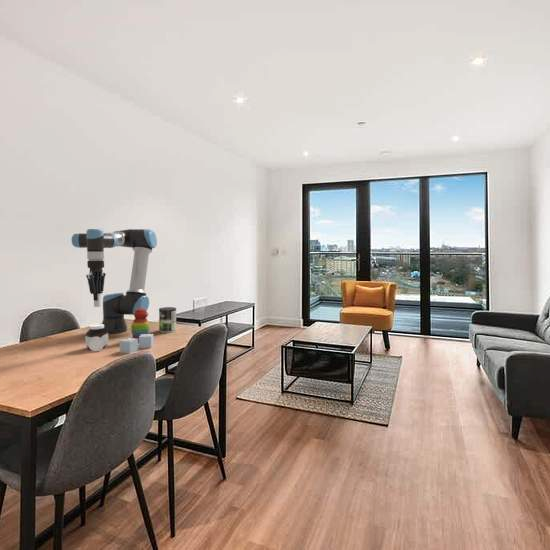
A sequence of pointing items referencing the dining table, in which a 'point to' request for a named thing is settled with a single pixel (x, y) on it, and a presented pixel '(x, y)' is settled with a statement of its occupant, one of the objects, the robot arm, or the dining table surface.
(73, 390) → the dining table surface
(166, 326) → the coffee can
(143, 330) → the stacking bear
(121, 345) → the pip block three
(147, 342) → the pip block two
